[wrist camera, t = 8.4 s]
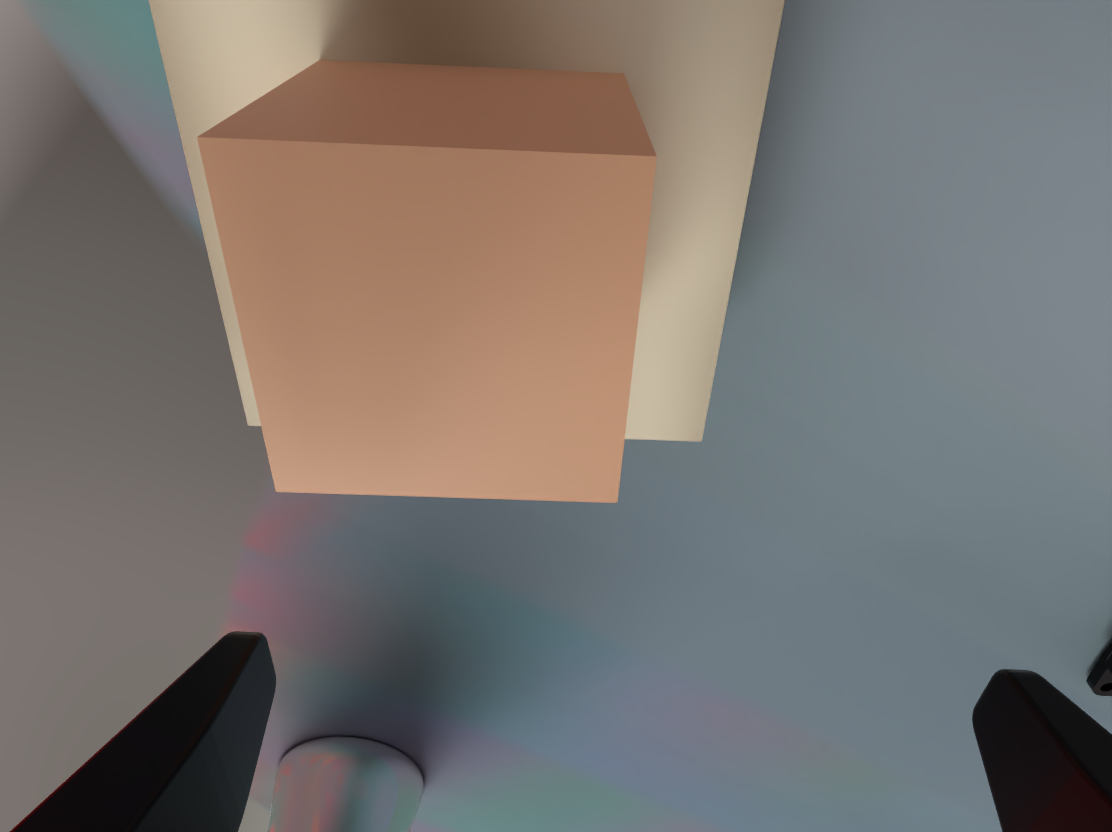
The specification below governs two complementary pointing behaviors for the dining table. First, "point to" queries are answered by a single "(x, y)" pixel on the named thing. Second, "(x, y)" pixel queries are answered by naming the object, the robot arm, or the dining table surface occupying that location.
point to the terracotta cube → (437, 276)
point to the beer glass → (345, 788)
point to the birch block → (541, 44)
